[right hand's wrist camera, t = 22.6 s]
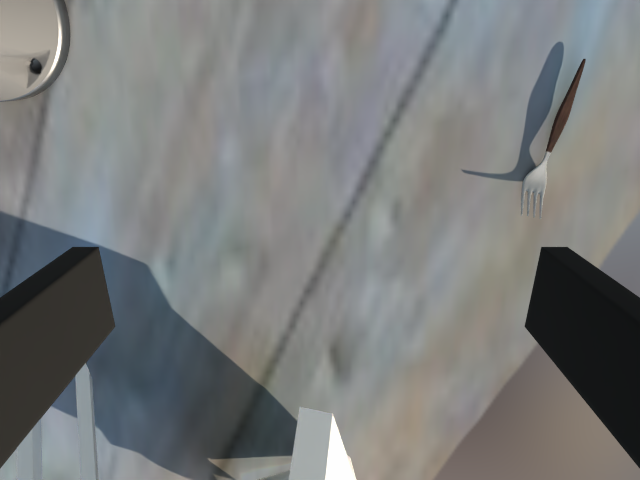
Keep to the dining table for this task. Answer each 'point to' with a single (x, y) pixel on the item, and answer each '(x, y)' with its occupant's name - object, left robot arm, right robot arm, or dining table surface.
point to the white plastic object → (304, 476)
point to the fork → (549, 148)
